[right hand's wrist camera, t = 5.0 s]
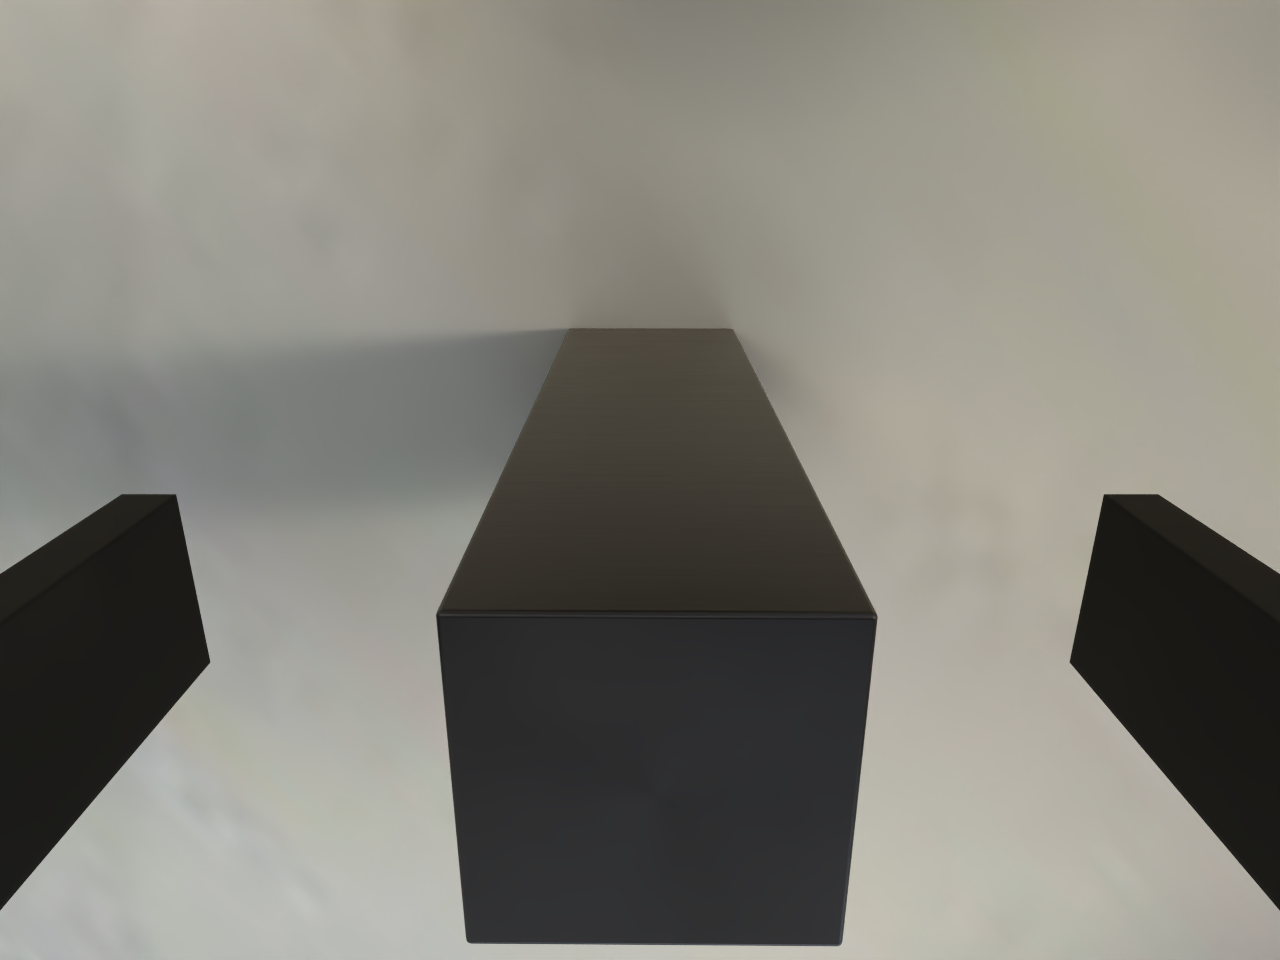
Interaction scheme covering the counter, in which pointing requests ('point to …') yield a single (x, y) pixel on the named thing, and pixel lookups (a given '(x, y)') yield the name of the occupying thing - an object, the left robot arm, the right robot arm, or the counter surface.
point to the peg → (655, 665)
